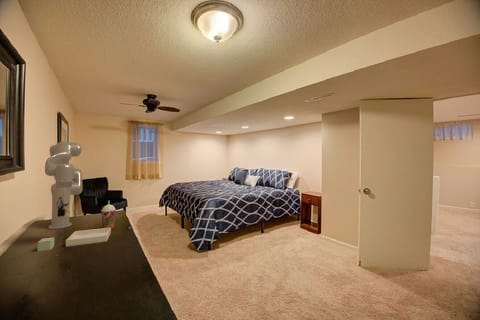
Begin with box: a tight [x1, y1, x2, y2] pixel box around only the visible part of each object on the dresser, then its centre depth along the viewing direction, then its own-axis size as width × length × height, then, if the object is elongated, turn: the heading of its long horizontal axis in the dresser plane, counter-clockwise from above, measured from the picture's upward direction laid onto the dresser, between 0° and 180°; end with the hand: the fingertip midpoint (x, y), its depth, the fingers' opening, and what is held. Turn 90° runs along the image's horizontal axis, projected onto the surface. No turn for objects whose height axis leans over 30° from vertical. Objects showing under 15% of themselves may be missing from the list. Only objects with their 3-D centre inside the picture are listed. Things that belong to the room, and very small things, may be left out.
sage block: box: [37, 237, 55, 252], centre depth 107 cm, size 5×5×5 cm
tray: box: [65, 227, 112, 248], centre depth 121 cm, size 16×19×4 cm
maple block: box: [56, 206, 71, 217], centre depth 121 cm, size 5×5×5 cm
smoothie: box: [101, 200, 117, 231], centre depth 139 cm, size 8×8×20 cm
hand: (62, 214), depth 121 cm, fingers closed on maple block, 4 cm apart
